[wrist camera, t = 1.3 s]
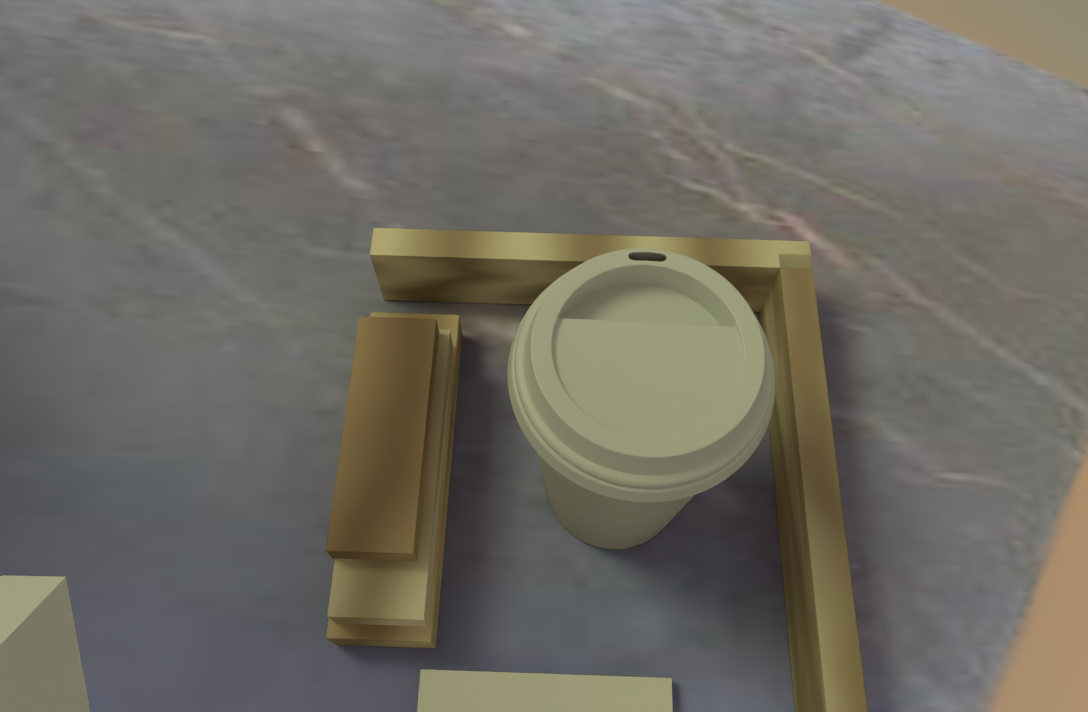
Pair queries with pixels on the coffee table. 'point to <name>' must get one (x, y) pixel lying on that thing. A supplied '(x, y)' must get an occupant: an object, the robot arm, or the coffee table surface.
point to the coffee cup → (638, 390)
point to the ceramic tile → (540, 692)
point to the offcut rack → (795, 426)
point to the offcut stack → (394, 481)
